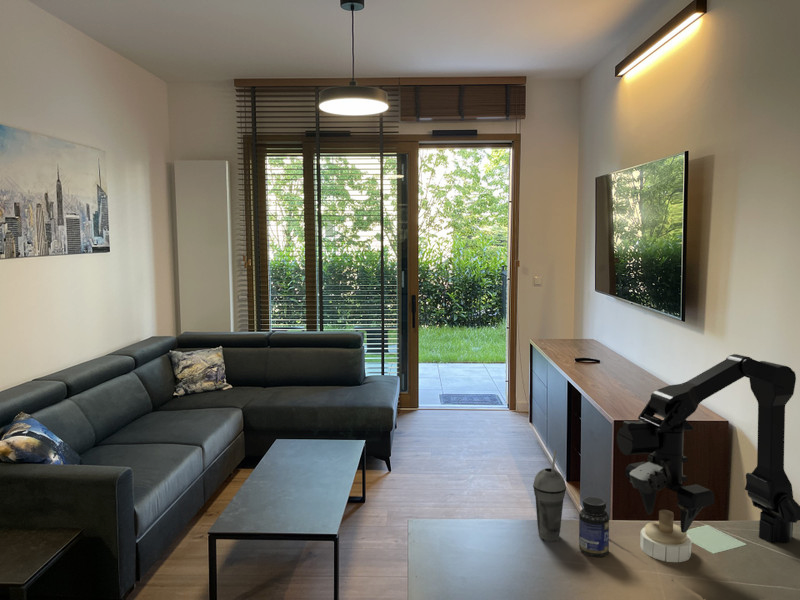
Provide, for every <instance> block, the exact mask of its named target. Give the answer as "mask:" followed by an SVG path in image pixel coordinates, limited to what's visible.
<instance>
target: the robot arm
mask: <svg viewBox="0 0 800 600" xmlns="http://www.w3.org/2000/svg"><path fill="white" fill-rule="evenodd" d="M744 377H745V378H748V380H749V384H750V385H749V386H750V390H751V392H752V394H753V396H754V397H755V399H756V401H757V449H756V450H757V460H756V466H755V468H754V469H753V471H752V472H746V474H745V480H746V483H745V487H744V490H745V491H747V495H748V497H749V498H750V500H751V503H752V506H753V507H755V508H758V509H759V510H761V511H760V513H759V514H760V515H759V516H760V517H759V522H758V538H759V539H761V540H764V541H766V542H767V543H771V544H775V543H779V544H788V543H791V542H792V539H793V532H794V524H796V523H798V522H799V521H800V504H799V503H798V502H797V501H796V499H794V492H793V486H792V485H793V484H792V482H791V481H790V479H789V477H788V475H787V474H786V471H785V428H786V427H785V426H786V422H785V421H786V405H787V403H788V402H789V401H790V400H791V398H792V397H793V395H794V393H795V388H796V387H795V386H796V382H797V376H796V372H795V371H794V370H793V368H791V367H789V366H787V365H785V364H784V365H783V364H779V363H774V362H770V361H766V360H760V361H759V360H755V359H754V358H752V357H750V356H745V355H741V354H738V353H734V354H731V355H730V354H729V355H728V356H727V357H726V358H725V359H724V360H722V361H720V362H719V363H717V364H715V365H713V366H712V367H710V368H708V369H706V370H705V371H703V372H701V373H699V374H698V375H696V376H695V377H692V378H691V379H688V380H687V381H685V382H682V383H676V384H670V385H667V386H664V387H661V388H659V389H655V391H653V392H652V393H651V395H650V399H649V400H648V402H647V403H646V404H645V407H644V408H643V409H642V411H641V413H639V415H638V417H637V420H634V421H633V420H624V421H623V422H622V427H620V428H619V429H618V431H617V434H616V444H617V446H618V448H619V449H618V450H620V452H621V453H622V454H623V455H624V456H631V455H632V456H633V455H645V454H648V455H647V460H646V461H640V462H633V463H629V464H628V465H627V466H626V467H625V472H624V473H625V475H624V476H625V478H626V479H628V480H629V482H630V483H631V484H632V487H633V488H634V489H637V490H638V491H639V494H640V496H641V501H642V502H643V506H644V509H645V511H646V512H645V513H646V514H647V515H652V514H653V512H654V507H655V503H656V497H657V492H659V491H661V490H663V489H664V488H666V489H669V490H670V491H673V492H675V493H676V499H677V500H678V501H677V502H675V503H676V505H677V507H678V508H679V509H680V527H681V532H683V533H684V532H687V530H689V529H690V527H691V525H692V523H693V521H694V520H695V519H696V517H697V515H698V514H699V513H700V511H701V510H702V509H703V508H706V507H708V506H713V505H715V493H714V492H713V491H712V490H711V489H709V488H707V487H705V486H702V485H700V484H698V483H697V484H690V485H684V484H683V483H684V482H688V476H687V475H685V474H683V468H684V467H683V464H684V463H688V456H687V455H686V456H685V455H684V432H685V431H693V430H694V429H695V427H694V426H693V425H691V424H690V423H689V422H688V420H687V419H688V418H689V417H690V416H691V415H693V414H694V413H695V412H696V411H697V409H698V406H699V404H700V403H702V402H703V401H704V400H706V399H708V398H709V397H711V396H713V395H714V394H717V393H718V392H720V391H722V390H723V389H725V388H727V387H729V386H730V385H732V384H733V383H735V382H737V381H739V380H741V379H743V378H744ZM655 415H656V416H658V417H661V418H658V417H656V416H655ZM662 418H663V419H662Z"/></svg>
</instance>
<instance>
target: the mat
mask: <svg viewBox="0 0 800 600" xmlns="http://www.w3.org/2000/svg"><path fill="white" fill-rule="evenodd" d="M687 534H688V535H689V537H690V538H691V539H692V544H694V545H695V546H697V547H700V548H702V549H703V550H705V551H707V552H709V553H711V554H718V553H721V552H725V551H728V550H732V549H736V548H740V547H743V546H747V545H748V544H746V543H745V542H743V541H741V540H739V539H736V538H735V537H733V536H731V535H729V534H727V533H725V532H723V531H721V530H718V529H717V528H714V527H713V526H711V525H708V524H705V525H702V526H698V527H694V528H689V529H688V530H687Z"/></svg>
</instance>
